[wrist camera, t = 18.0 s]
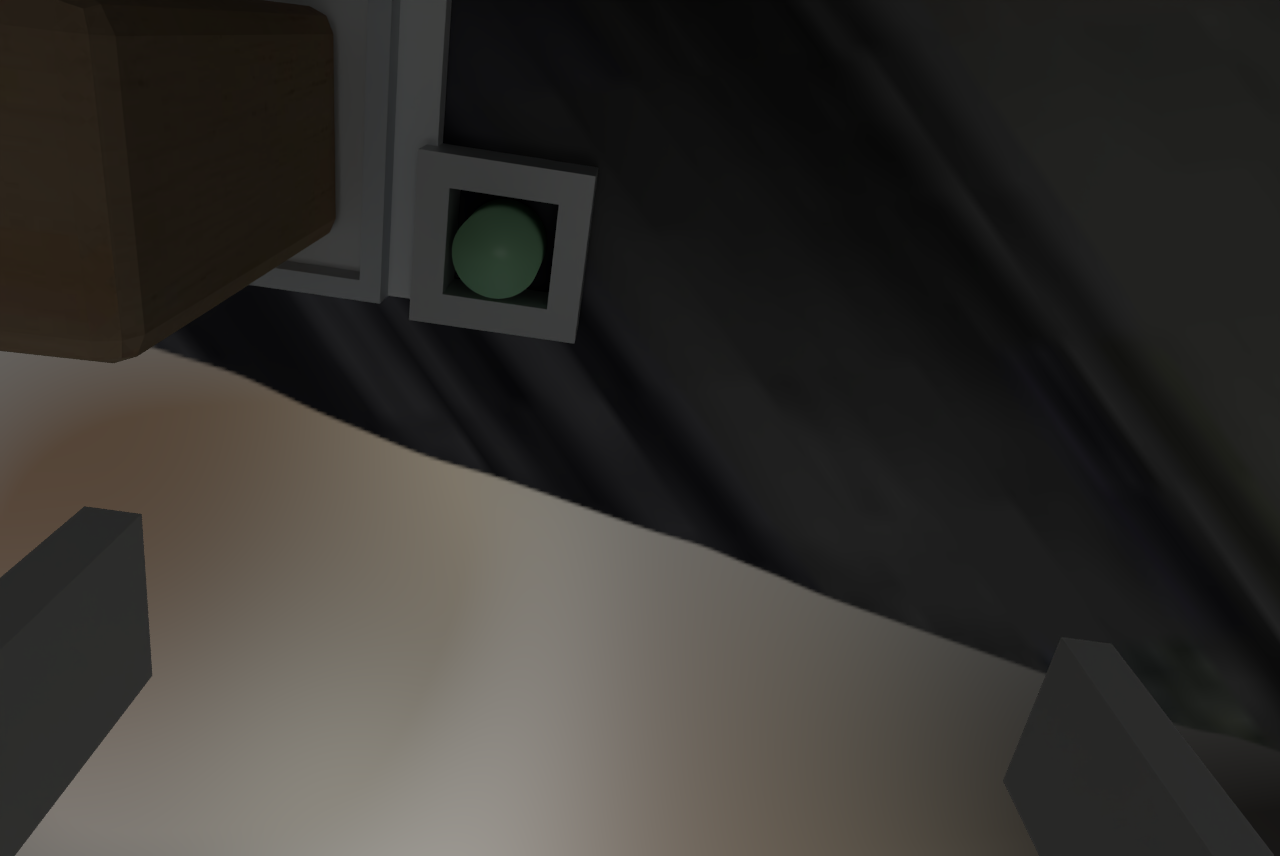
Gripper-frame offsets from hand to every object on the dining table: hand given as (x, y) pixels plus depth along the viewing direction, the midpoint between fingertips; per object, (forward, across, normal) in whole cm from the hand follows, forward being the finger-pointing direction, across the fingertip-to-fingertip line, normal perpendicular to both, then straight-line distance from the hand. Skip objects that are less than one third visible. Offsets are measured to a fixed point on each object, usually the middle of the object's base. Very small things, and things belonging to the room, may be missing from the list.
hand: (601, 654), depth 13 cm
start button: (+34, -6, -2) cm, 35 cm away
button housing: (+35, -6, -2) cm, 35 cm away
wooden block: (+34, -19, +2) cm, 39 cm away
